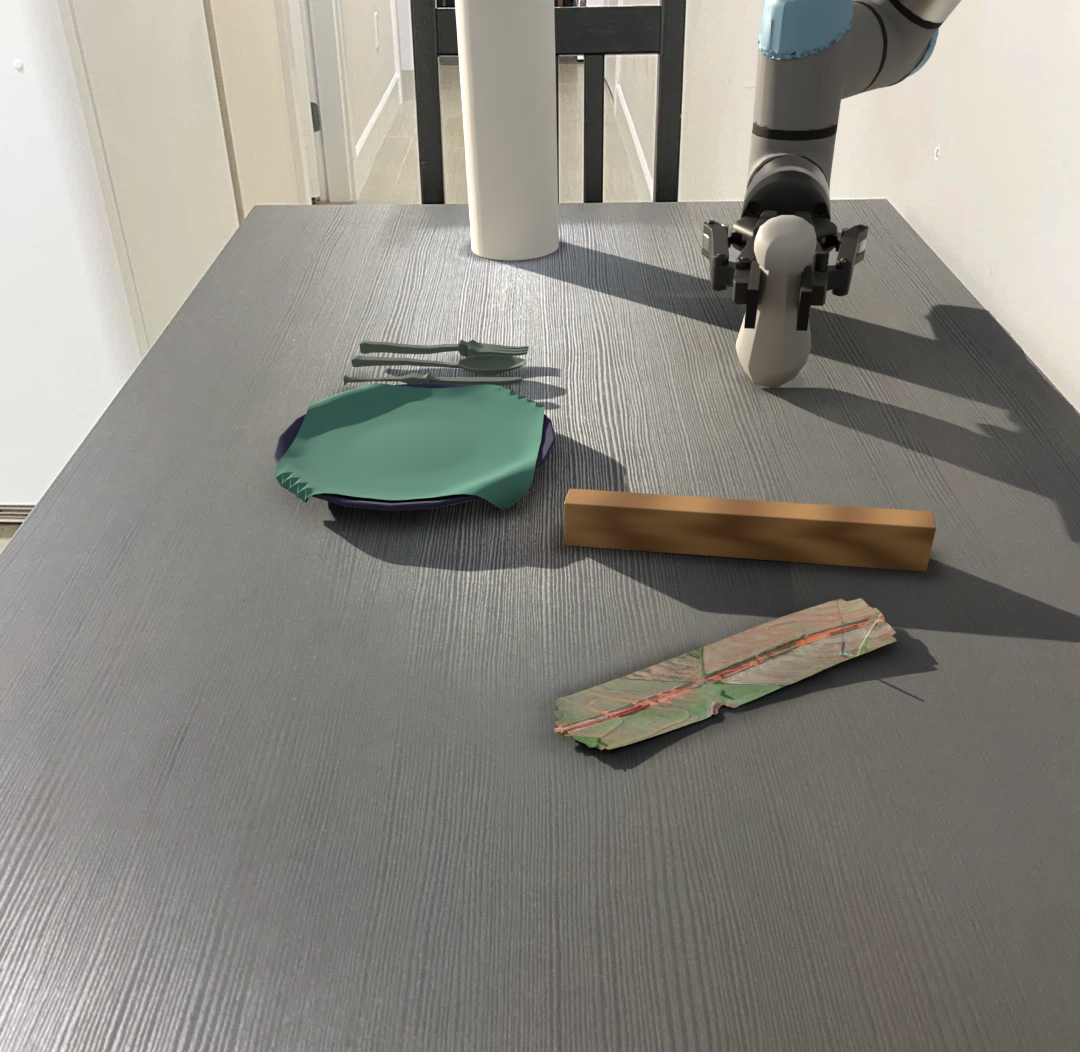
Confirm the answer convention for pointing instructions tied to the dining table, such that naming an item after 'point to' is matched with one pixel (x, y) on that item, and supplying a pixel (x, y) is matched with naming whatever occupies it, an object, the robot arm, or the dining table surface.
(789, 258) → the salt shaker
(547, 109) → the cylinder container
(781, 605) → the dining table surface
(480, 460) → the cutlery set
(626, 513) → the long wooden block
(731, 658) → the map
